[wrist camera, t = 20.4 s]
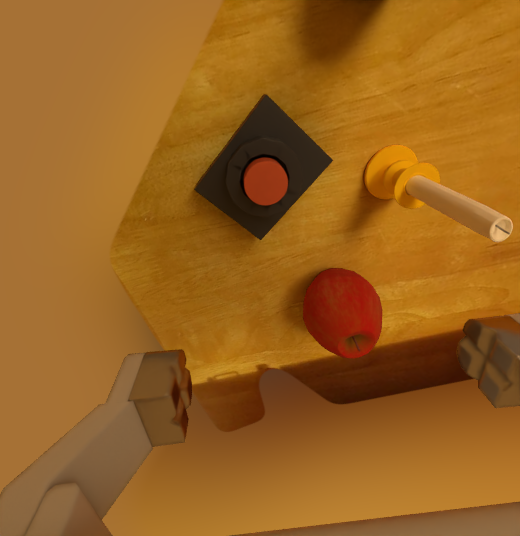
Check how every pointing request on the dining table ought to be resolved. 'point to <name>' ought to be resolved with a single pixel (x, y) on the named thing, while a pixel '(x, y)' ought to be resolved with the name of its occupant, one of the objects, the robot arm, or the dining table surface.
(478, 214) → the candle
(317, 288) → the apple
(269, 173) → the button
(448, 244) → the dining table surface
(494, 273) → the dining table surface
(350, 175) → the dining table surface
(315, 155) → the button box
